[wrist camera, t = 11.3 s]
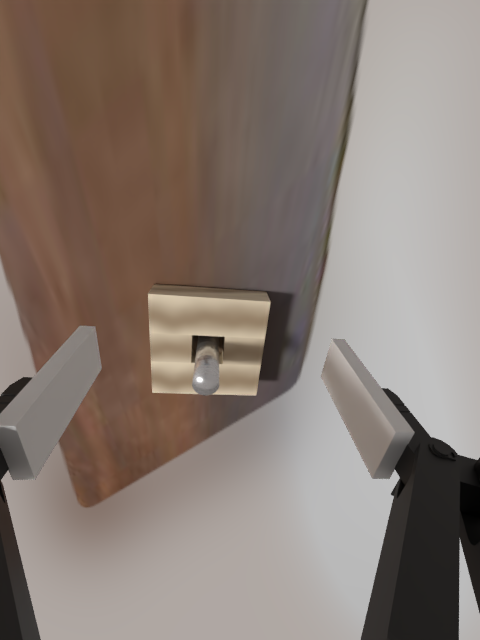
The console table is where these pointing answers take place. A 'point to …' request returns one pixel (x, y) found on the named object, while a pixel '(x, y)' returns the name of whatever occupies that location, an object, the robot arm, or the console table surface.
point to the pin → (206, 365)
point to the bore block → (206, 320)
